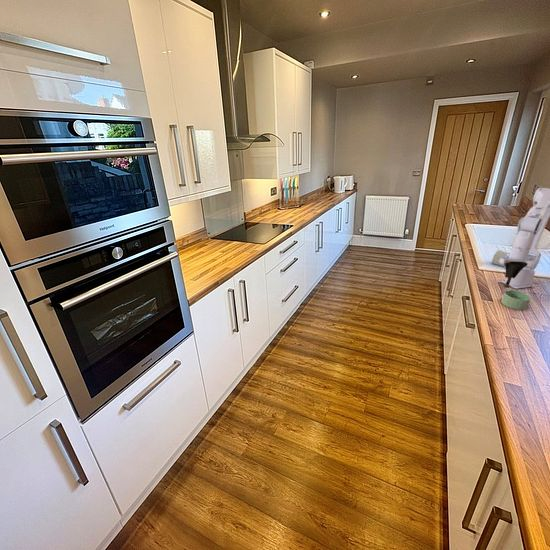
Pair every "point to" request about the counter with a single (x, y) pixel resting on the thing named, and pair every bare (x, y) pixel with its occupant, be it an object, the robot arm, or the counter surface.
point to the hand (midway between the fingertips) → (510, 277)
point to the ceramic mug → (499, 255)
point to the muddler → (507, 283)
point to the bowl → (515, 299)
